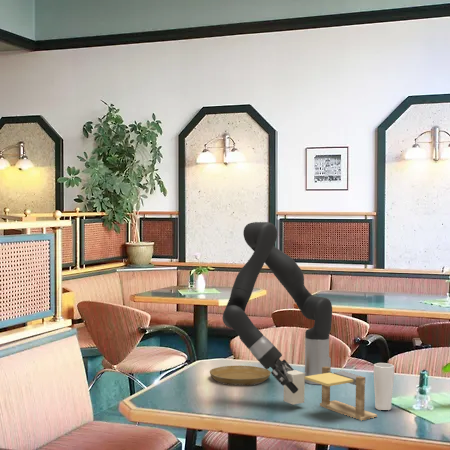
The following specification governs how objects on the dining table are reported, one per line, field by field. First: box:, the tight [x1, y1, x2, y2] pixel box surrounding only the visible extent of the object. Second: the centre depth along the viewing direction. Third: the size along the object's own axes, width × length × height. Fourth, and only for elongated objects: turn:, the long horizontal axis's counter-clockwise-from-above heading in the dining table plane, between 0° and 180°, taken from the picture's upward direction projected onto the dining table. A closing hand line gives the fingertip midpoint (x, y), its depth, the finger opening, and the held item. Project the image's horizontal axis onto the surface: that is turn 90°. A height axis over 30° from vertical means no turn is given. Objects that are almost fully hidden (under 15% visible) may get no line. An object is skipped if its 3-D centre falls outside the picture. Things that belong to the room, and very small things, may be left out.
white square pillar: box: [283, 369, 306, 406], centre depth 244 cm, size 5×5×10 cm
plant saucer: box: [209, 365, 272, 386], centre depth 282 cm, size 24×24×3 cm
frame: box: [319, 366, 378, 422], centre depth 240 cm, size 7×20×14 cm, turn 34°
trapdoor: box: [305, 370, 360, 387], centre depth 236 cm, size 17×11×2 cm
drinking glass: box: [373, 362, 395, 411], centre depth 243 cm, size 7×7×15 cm
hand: (298, 388), depth 243 cm, fingers closed on white square pillar, 7 cm apart
